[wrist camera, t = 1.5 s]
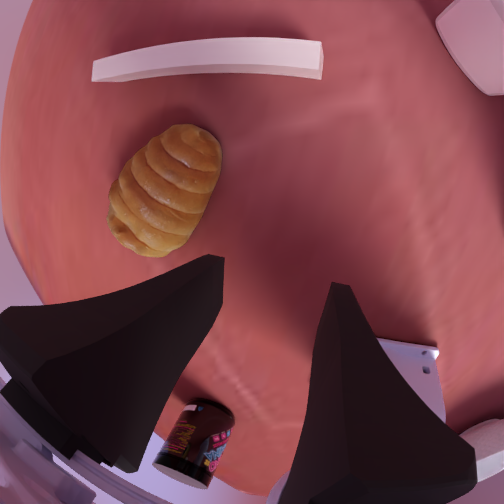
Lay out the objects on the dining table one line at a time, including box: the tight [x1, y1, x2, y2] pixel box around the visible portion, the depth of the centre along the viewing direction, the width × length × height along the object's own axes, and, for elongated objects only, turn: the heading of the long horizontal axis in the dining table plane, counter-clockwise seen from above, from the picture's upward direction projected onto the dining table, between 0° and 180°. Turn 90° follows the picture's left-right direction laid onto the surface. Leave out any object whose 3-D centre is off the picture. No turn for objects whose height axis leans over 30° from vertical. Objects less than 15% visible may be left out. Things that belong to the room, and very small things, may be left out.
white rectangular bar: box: [92, 37, 324, 82], centre depth 13 cm, size 14×2×3 cm, turn 85°
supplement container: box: [152, 398, 235, 489], centre depth 26 cm, size 7×7×10 cm
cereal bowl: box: [459, 419, 504, 482], centre depth 18 cm, size 17×17×7 cm
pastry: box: [107, 124, 222, 257], centre depth 17 cm, size 9×7×4 cm
